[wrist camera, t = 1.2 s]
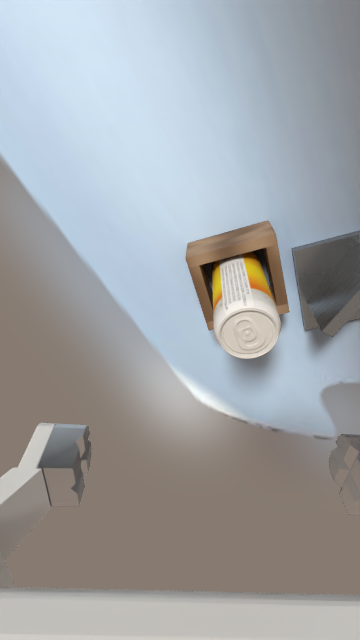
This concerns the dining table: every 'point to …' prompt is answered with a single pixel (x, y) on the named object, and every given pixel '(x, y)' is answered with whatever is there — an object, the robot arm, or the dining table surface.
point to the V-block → (329, 282)
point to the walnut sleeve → (232, 246)
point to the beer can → (243, 307)
